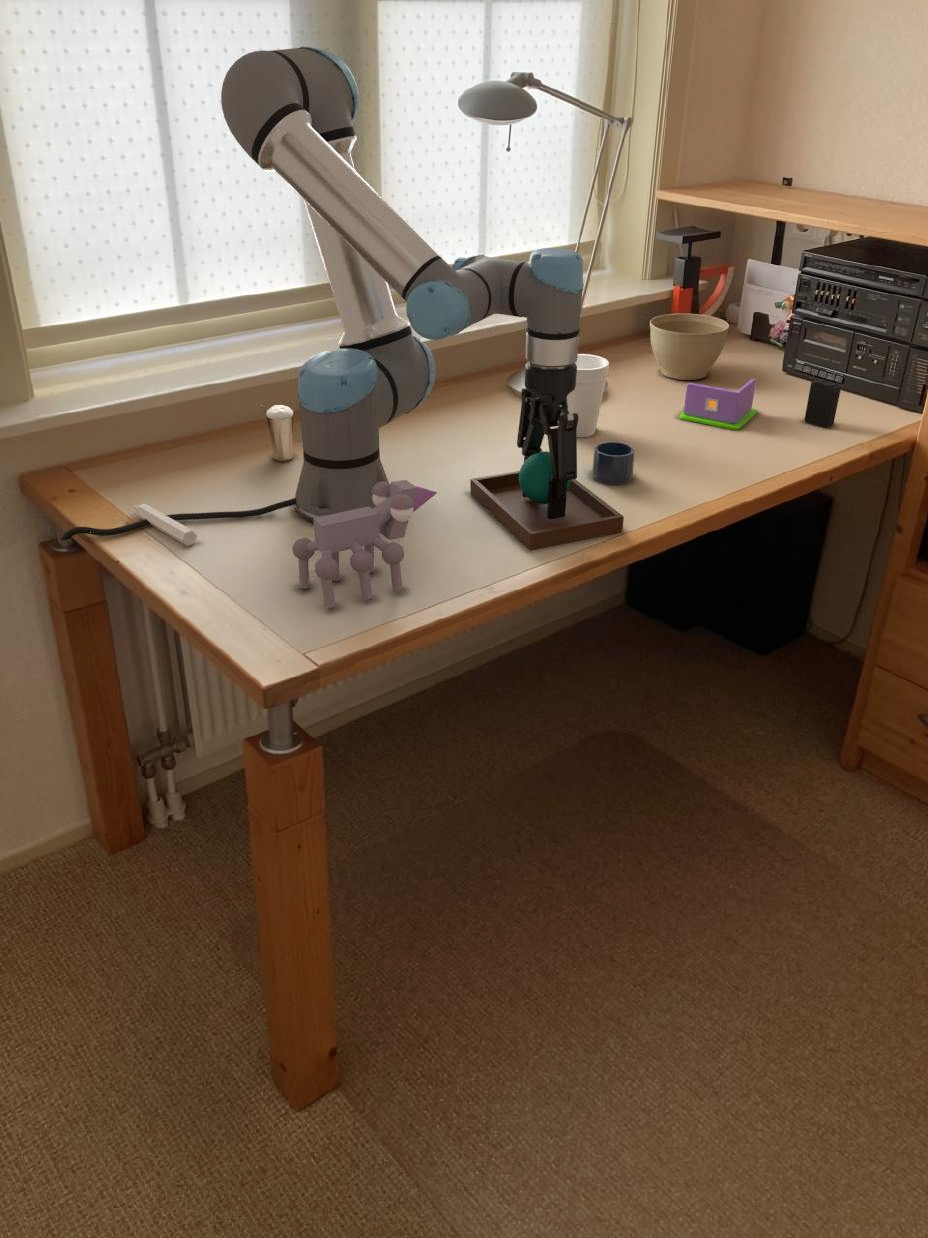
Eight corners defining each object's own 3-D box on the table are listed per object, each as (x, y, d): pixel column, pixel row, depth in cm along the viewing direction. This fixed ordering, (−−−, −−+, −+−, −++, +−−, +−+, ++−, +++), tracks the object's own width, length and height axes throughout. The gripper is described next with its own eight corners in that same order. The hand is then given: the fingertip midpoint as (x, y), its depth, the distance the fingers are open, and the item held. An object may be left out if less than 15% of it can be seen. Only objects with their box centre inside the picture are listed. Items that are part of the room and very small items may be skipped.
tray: (529, 550, 154) (530, 534, 153) (470, 493, 171) (470, 478, 170) (622, 532, 160) (624, 516, 158) (555, 479, 177) (556, 464, 175)
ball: (532, 516, 160) (534, 466, 156) (509, 495, 166) (511, 447, 162) (578, 507, 163) (582, 459, 159) (554, 487, 169) (557, 440, 165)
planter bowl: (725, 366, 230) (732, 316, 224) (717, 389, 216) (724, 336, 211) (651, 359, 234) (656, 309, 228) (639, 381, 221) (644, 329, 215)
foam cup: (603, 423, 199) (608, 354, 193) (604, 441, 191) (609, 370, 185) (552, 420, 200) (556, 353, 194) (551, 438, 192) (555, 368, 186)
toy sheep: (421, 551, 154) (420, 464, 147) (457, 583, 146) (457, 491, 139) (291, 582, 145) (284, 491, 138) (321, 618, 137) (314, 522, 130)
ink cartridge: (833, 425, 199) (842, 384, 195) (827, 428, 198) (835, 387, 194) (810, 418, 202) (817, 378, 198) (803, 421, 201) (811, 380, 197)
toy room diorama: (738, 430, 196) (743, 395, 193) (677, 418, 202) (681, 383, 198) (758, 412, 205) (764, 377, 202) (699, 400, 211) (704, 366, 207)
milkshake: (262, 456, 184) (256, 400, 179) (291, 450, 186) (287, 395, 181) (270, 465, 181) (265, 408, 176) (300, 459, 183) (296, 404, 178)
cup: (605, 487, 174) (607, 458, 171) (585, 472, 179) (587, 444, 176) (639, 481, 176) (642, 452, 174) (619, 466, 181) (621, 439, 179)
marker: (135, 515, 165) (193, 547, 155) (123, 512, 163) (181, 544, 154) (140, 499, 165) (198, 530, 155) (129, 496, 163) (187, 527, 153)
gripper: (610, 380, 146) (597, 529, 158) (541, 340, 163) (534, 477, 174) (562, 387, 144) (552, 537, 156) (497, 345, 160) (493, 484, 172)
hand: (543, 505), depth 165 cm, fingers closed on ball, 8 cm apart
